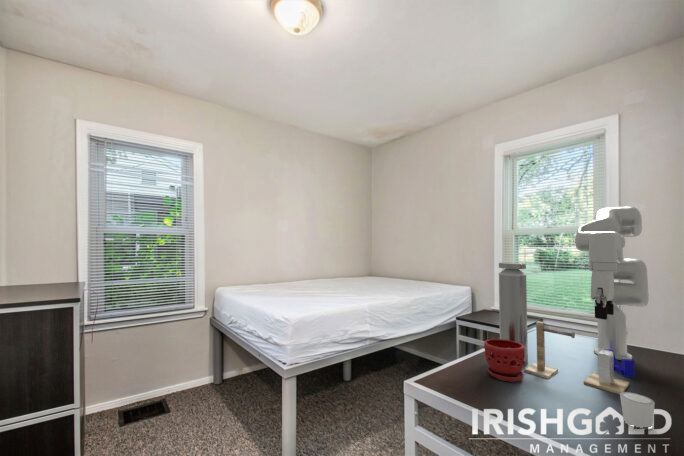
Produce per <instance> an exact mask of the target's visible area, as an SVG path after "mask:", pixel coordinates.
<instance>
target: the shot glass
mask: <svg viewBox="0 0 684 456" xmlns="http://www.w3.org/2000/svg"><path fill="white" fill-rule="evenodd" d="M619 398H620V404H621V410H622V419H623V422H624V421H625V422H624V423H625V424H626V425H628V424H629V425H628V426H630V425H634V426H636V427H640V428H643V427H651V426H654V425H653V424H654V415H655V414H654V413H655V401H654V400H653V399H651V398H650V397H648V396H646V395H643V394H638V393H635V392H629V391H624V392H622V393H620V394H619Z"/></svg>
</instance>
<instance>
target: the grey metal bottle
mask: <svg viewBox="0 0 684 456" xmlns="http://www.w3.org/2000/svg"><path fill="white" fill-rule="evenodd" d="M498 268H499V269H503V270H502V271H500V272H499V273H498V301H499V302H498V305H499V307H498V308H499V309H498V310H499V312H498V313H499V318H498V319H499V339H504V340H511V341H515V342H518V343H521V344H522V345H524V349H525V358H524V366H528V365H529V352H528V351H529V349H528V348H529V347H528V341H529V340H528V296H527V294H528V293H527V291H528V290H527V273H524V271H522V270H526V269H527V263H524V262H509V261H508V262H504V261H503V262H501V261H500V262H498ZM508 348H510V347H508ZM524 366H523V367H524Z"/></svg>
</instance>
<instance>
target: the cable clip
mask: <svg viewBox="0 0 684 456" xmlns="http://www.w3.org/2000/svg"><path fill="white" fill-rule="evenodd" d="M603 350H608V351H612V352H613V361H614V372H617V373H618V374H620V375H622V376H624V377H628V378H629V377H631V378H635V360H633V359H622V360H620V361H621V363H619V362H618V360H617V359H616V358H615V355H614V351H613V350H610V349H603Z"/></svg>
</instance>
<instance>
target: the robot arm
mask: <svg viewBox="0 0 684 456" xmlns="http://www.w3.org/2000/svg"><path fill="white" fill-rule="evenodd" d="M642 222H643V221H642V214H641V212H640V210H639V209H638V208H637V207H635V206H617V207H616V206H615V207H604V208H601V209H599V210H597V211H596V213H595V215H594V217H593V220H591V221H590V222H588V223H585V224H582V225H580V226H579V227H578V229H577V230H576V234H575V237H574V244H575V245H574V246H575V247H576V249H577V250H578V251H580V252H585V253H586V252H588V260H589V262H588V264H589V272H591V276H590V277H591V278H590V298H591V300H594V318H595V319H597V321H596V322H597V347H595V348H593V352H594V353H595V354H597V355H598V353H599V352H600V351H601V350H602V349H610V350H613V351H614V355H615V358H616V360H617V361H618V360H619V361H622V359H631V360H633V355H632V354H630V353H629V352H628V345H627V344H628V342H627V341H628V338H627V337H628V336H627V317H626V314H625V312H624V310H622V309H621V307H619V306H628V307H635V308H636V307H637V308H639V307H640V308H643V307H646V306H648V304H649V300H650V299H649V279H648V277H649V276H648V268H647V265H646V263H645V261H643V260H641V259H639V258H624V255H623V254H624V253H623V252H624V251H623V248H625V246H626V240H625V239H626V238H633V237H634V238H635V237H638V236H640V235H641V233H642V230H643V223H642ZM615 280H617V281H615ZM618 280H619V282H618ZM620 281H630V282H620Z"/></svg>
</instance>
